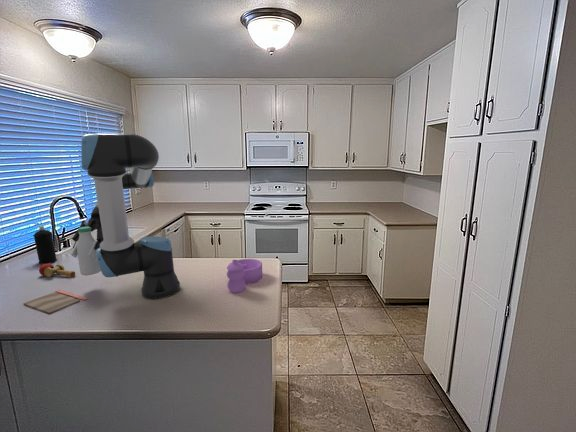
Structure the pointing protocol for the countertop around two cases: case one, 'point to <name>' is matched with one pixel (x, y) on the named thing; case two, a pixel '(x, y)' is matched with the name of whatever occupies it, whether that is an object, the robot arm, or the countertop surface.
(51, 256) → the aerosol can
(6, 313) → the countertop surface
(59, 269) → the kendama
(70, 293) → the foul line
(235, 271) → the container set
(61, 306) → the board
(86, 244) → the milk bottle
